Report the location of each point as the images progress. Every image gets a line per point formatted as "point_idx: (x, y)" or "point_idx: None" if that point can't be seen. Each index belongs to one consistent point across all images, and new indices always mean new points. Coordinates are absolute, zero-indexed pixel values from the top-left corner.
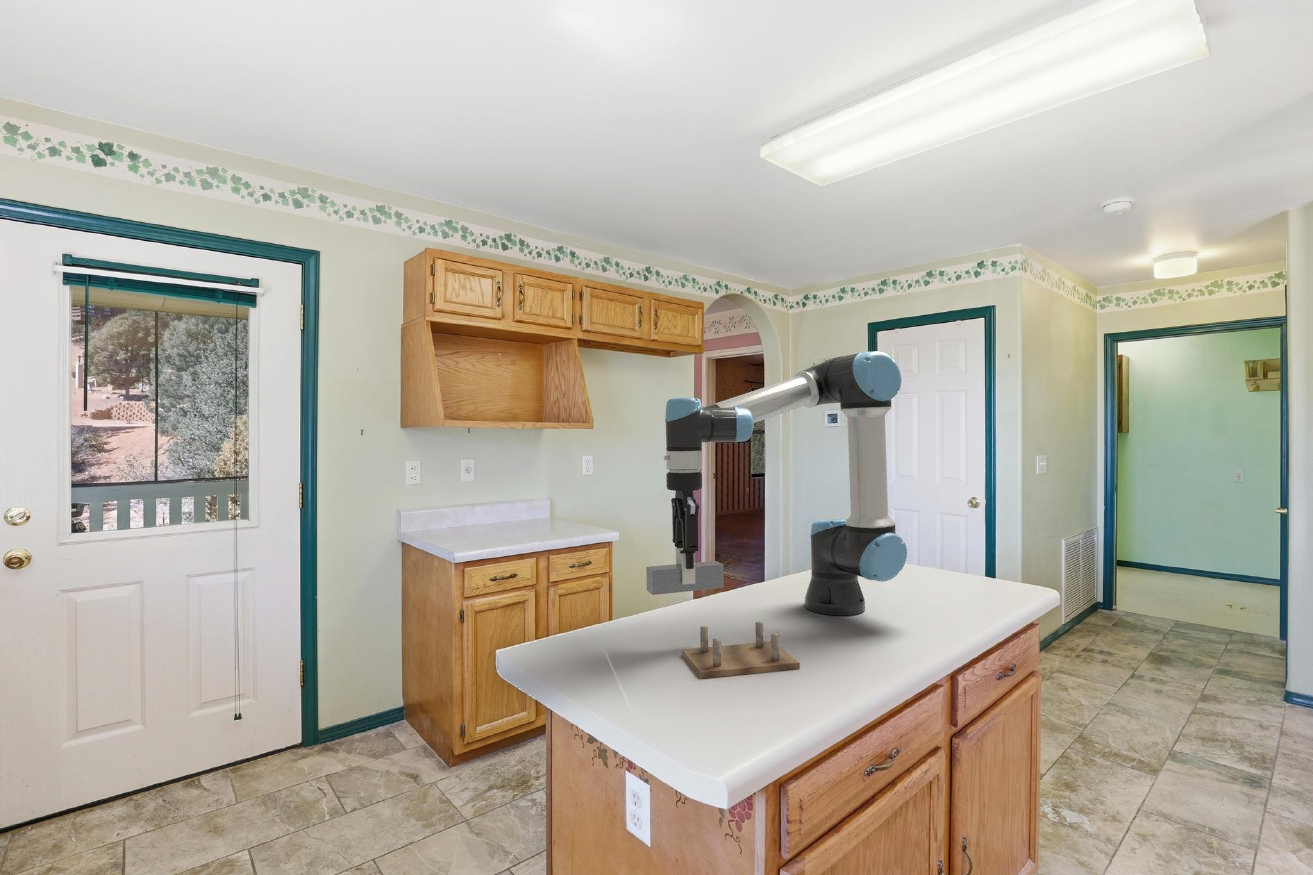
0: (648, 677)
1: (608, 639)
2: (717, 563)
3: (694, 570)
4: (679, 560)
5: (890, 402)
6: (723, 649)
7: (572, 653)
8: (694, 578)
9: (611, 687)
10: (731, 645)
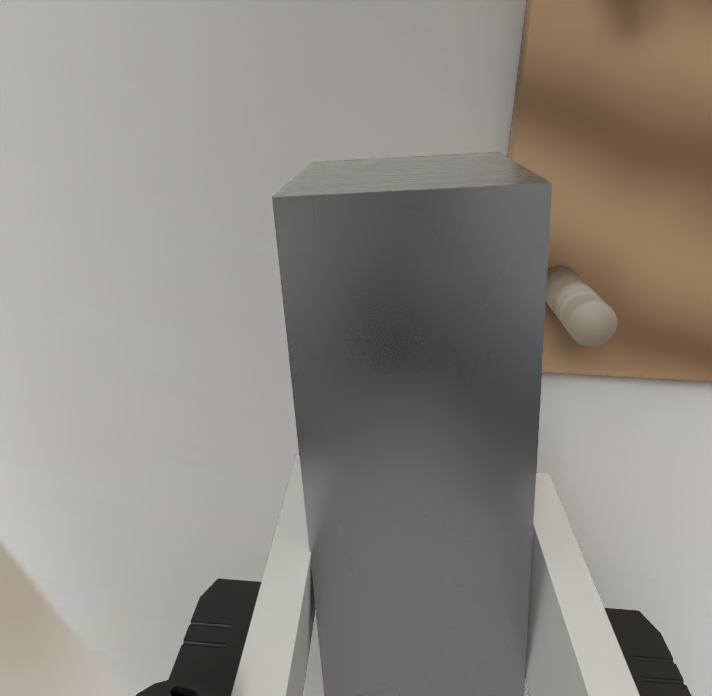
0: (645, 533)
1: (187, 561)
2: (448, 240)
3: (580, 562)
4: (304, 667)
5: None
6: (567, 179)
7: (313, 687)
8: (559, 509)
9: (670, 648)
10: (527, 111)
